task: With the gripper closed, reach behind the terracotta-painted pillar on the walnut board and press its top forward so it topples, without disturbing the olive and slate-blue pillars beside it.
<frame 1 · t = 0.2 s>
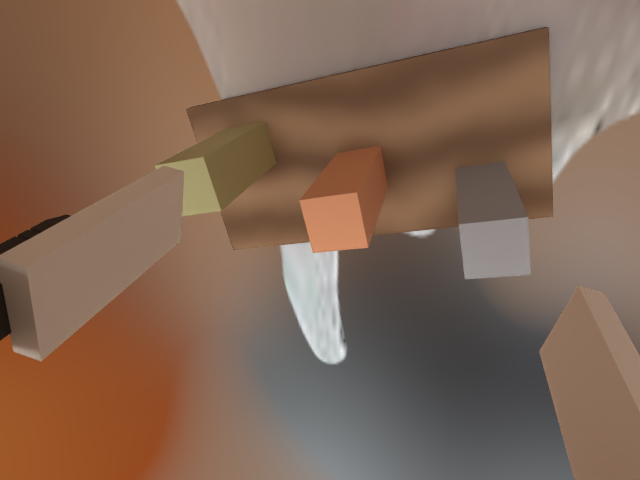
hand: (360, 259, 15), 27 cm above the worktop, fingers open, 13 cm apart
terracotta pillar: (362, 170, 41), point 1 cm above the worktop, touching walnut board
walnut board: (362, 156, 41), on the worktop
slate pillar: (481, 186, 39), point 1 cm above the worktop, touching walnut board
olive pillar: (251, 146, 42), point 1 cm above the worktop, touching walnut board
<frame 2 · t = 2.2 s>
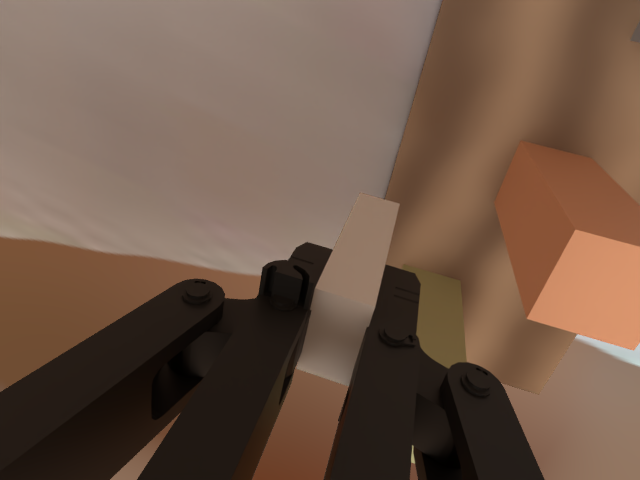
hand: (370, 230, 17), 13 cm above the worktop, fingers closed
terracotta pillar: (540, 181, 26), point 1 cm above the worktop, touching walnut board
walnut board: (520, 170, 28), on the worktop
olive pillar: (423, 295, 32), point 1 cm above the worktop, touching walnut board
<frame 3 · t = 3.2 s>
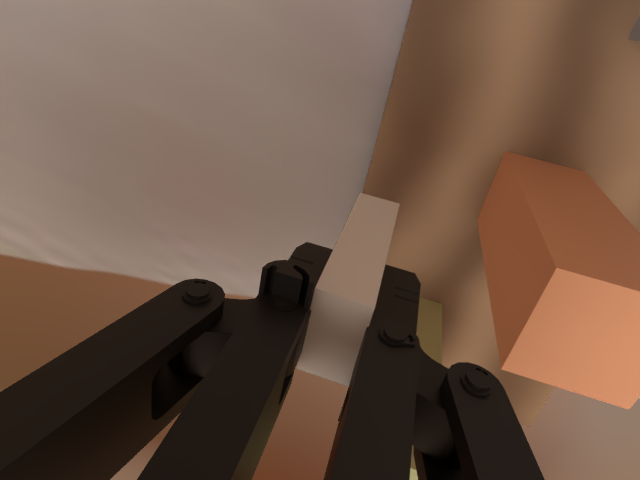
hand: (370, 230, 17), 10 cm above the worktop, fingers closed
terracotta pillar: (528, 196, 24), point 1 cm above the worktop, touching walnut board
walnut board: (506, 184, 25), on the worktop
olive pillar: (401, 318, 29), point 1 cm above the worktop, touching walnut board
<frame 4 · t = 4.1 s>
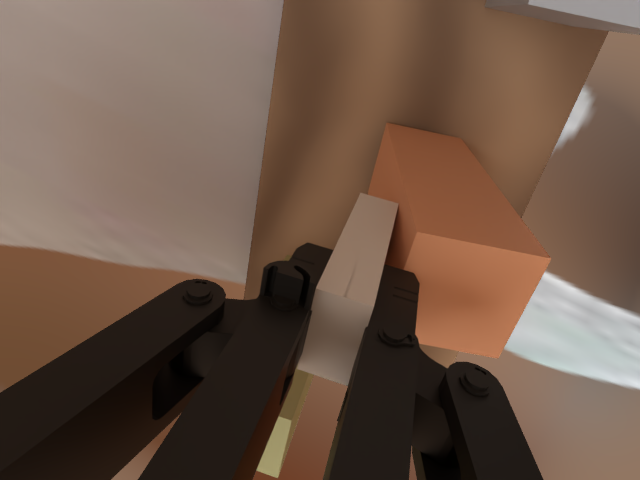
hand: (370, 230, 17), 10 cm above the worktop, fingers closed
terracotta pillar: (412, 166, 24), point 2 cm above the worktop, tilted 11°, touching gripper, walnut board
walnut board: (396, 153, 26), on the worktop
olive pillar: (310, 288, 30), point 1 cm above the worktop, touching walnut board
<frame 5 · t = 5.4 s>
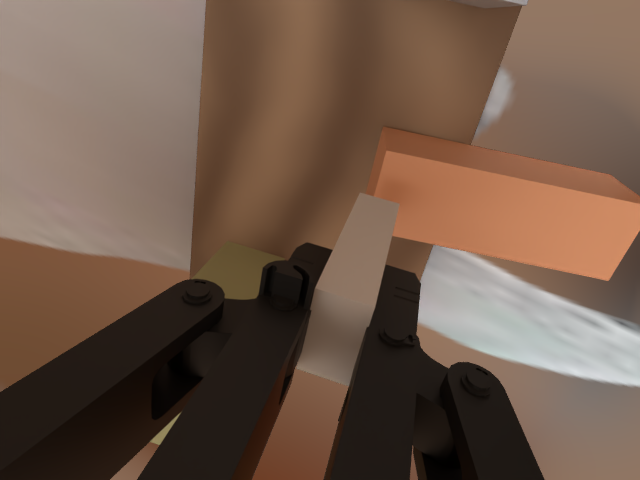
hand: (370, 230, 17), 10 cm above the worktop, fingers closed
terracotta pillar: (374, 176, 22), point 4 cm above the worktop, tilted 99°, touching walnut board
walnut board: (328, 138, 26), on the worktop
olive pillar: (252, 274, 30), point 1 cm above the worktop, touching walnut board
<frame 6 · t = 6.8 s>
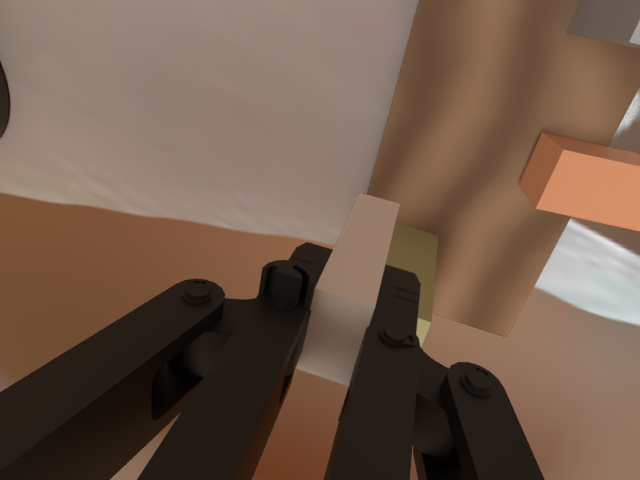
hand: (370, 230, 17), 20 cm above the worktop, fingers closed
terracotta pillar: (538, 169, 30), point 4 cm above the worktop, tilted 99°, touching walnut board
walnut board: (486, 141, 34), on the worktop
slate pillar: (615, 4, 27), point 1 cm above the worktop, touching walnut board
olive pillar: (407, 248, 38), point 1 cm above the worktop, touching walnut board
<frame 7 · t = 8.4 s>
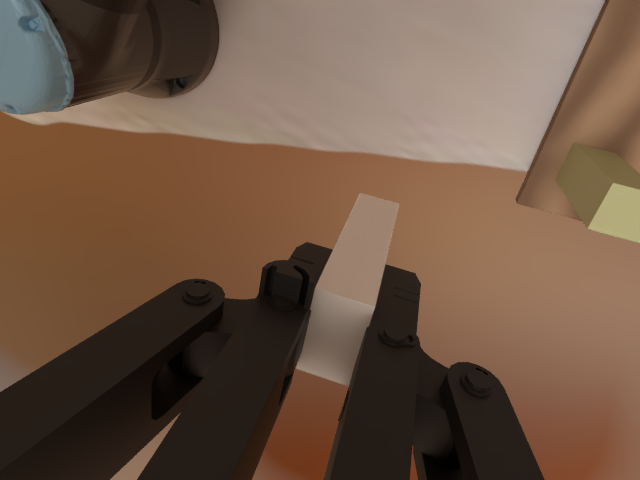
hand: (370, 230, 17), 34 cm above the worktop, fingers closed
olive pillar: (584, 166, 45), point 1 cm above the worktop, touching walnut board
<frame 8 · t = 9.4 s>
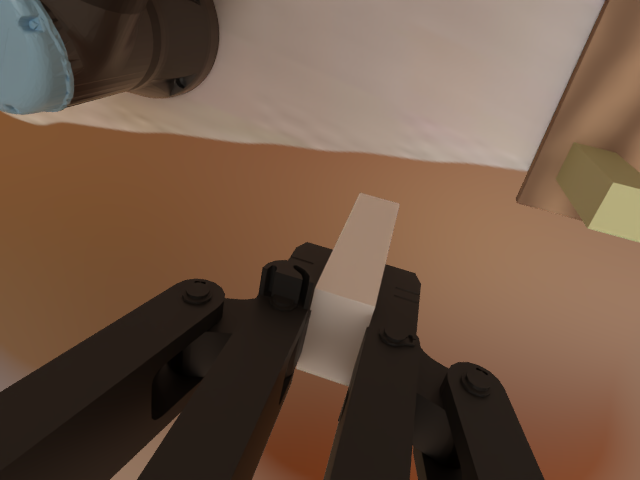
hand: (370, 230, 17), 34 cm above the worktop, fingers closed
olive pillar: (584, 166, 45), point 1 cm above the worktop, touching walnut board
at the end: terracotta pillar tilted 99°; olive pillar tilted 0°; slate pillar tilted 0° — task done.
